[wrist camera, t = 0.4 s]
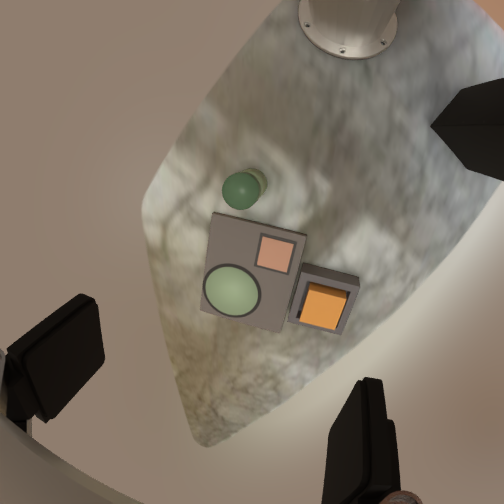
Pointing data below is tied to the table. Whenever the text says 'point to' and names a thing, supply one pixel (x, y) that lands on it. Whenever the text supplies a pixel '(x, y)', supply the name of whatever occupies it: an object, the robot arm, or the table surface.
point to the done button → (323, 305)
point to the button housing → (327, 279)
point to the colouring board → (250, 271)
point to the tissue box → (476, 127)
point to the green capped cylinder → (244, 188)
